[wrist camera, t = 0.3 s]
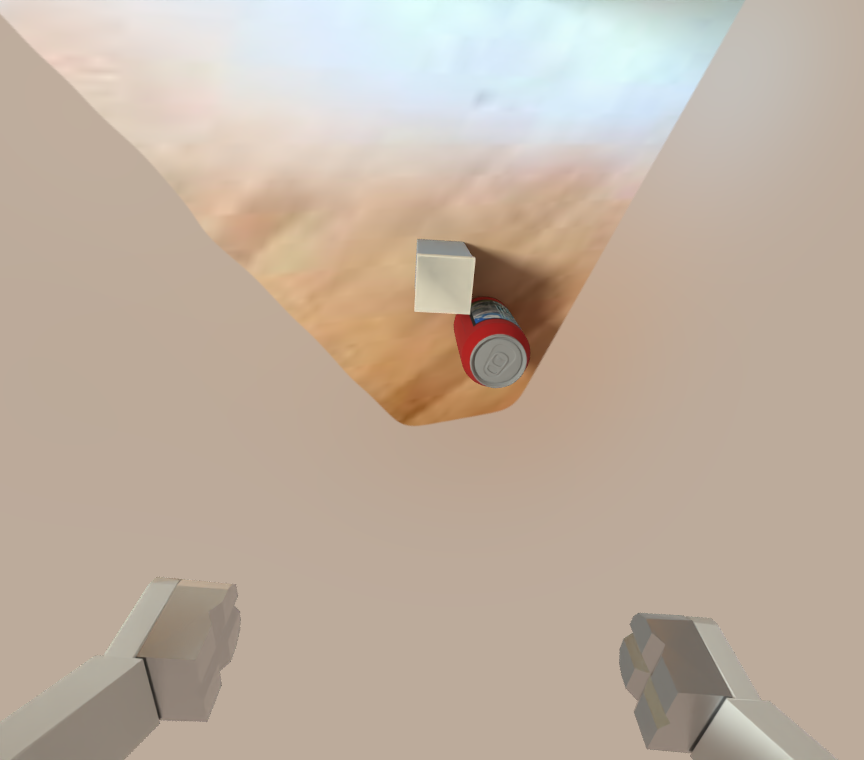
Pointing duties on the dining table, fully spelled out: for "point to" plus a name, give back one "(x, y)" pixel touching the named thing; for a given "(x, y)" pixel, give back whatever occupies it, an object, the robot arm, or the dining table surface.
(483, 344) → the beverage can
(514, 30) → the dining table surface
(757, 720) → the robot arm
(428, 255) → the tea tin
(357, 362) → the dining table surface
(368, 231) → the dining table surface
